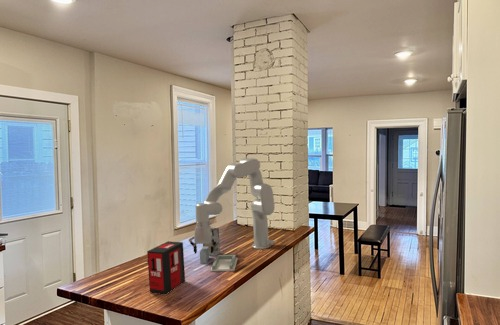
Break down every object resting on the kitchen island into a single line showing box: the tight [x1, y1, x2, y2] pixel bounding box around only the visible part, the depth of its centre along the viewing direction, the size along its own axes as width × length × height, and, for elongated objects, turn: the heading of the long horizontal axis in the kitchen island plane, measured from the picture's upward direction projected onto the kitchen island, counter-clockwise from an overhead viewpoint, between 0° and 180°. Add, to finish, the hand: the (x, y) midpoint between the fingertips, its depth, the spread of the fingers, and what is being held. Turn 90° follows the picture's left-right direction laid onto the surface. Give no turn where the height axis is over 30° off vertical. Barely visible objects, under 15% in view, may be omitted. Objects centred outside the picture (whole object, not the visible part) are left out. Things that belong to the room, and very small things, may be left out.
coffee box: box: [202, 227, 221, 257], centre depth 214 cm, size 9×6×16 cm
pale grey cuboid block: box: [199, 246, 210, 265], centre depth 203 cm, size 4×10×7 cm, turn 176°
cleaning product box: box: [146, 240, 186, 295], centre depth 166 cm, size 16×9×20 cm, turn 159°
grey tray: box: [210, 254, 239, 272], centre depth 193 cm, size 13×18×3 cm
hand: (203, 252), depth 202 cm, fingers open, 9 cm apart
